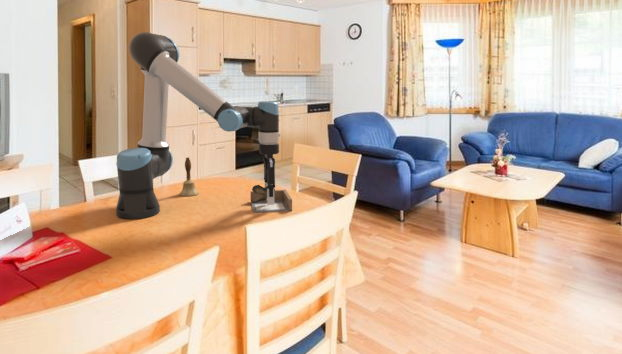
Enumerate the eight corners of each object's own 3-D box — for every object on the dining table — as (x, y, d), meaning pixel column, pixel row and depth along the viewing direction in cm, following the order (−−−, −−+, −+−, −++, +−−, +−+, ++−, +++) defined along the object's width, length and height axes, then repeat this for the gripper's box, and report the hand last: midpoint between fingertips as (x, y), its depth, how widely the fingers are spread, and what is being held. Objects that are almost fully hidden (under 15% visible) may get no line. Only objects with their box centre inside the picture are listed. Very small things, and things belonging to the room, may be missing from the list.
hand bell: (178, 192, 190) (176, 156, 187) (197, 190, 194) (195, 155, 190) (181, 197, 183) (178, 160, 180) (200, 195, 186) (199, 158, 183)
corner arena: (254, 212, 163) (253, 201, 162) (250, 201, 177) (250, 191, 176) (292, 210, 166) (292, 199, 165) (285, 200, 180) (285, 189, 179)
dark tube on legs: (273, 195, 173) (251, 192, 172) (276, 183, 169) (253, 179, 167) (272, 210, 168) (249, 206, 166) (276, 198, 163) (252, 194, 162)
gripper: (282, 146, 155) (283, 208, 160) (275, 139, 173) (275, 194, 179) (261, 147, 153) (262, 209, 158) (256, 139, 172) (257, 195, 177)
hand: (269, 201), depth 168 cm, fingers closed on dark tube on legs, 7 cm apart
